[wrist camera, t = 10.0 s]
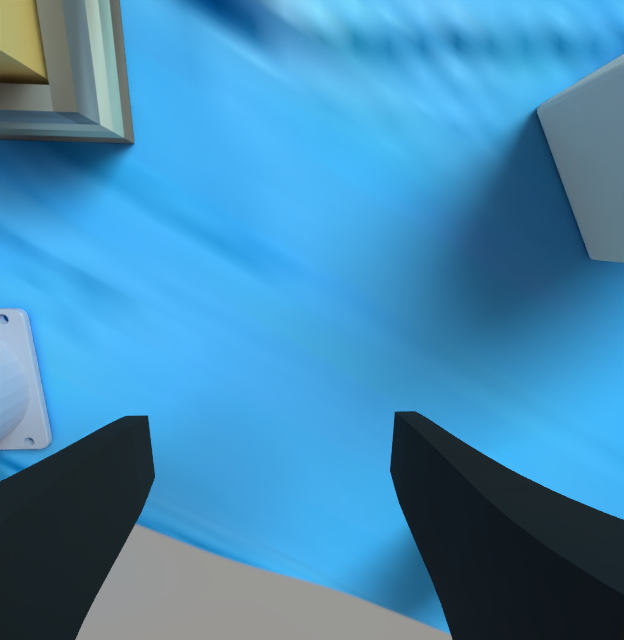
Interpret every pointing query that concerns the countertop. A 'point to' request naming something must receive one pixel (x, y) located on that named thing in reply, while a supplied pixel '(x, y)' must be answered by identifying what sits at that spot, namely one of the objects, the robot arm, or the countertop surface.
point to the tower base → (74, 79)
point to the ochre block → (21, 44)
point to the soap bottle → (592, 155)
